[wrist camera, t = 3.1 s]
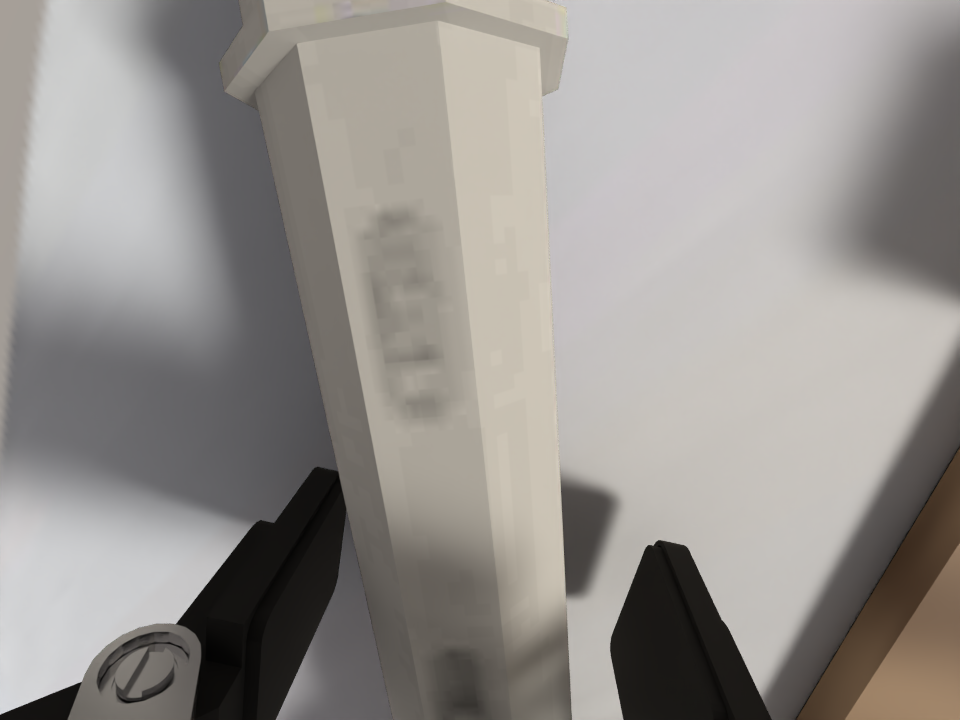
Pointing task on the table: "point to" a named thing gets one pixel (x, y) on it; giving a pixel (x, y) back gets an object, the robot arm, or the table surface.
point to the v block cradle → (905, 629)
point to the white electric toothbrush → (429, 323)
